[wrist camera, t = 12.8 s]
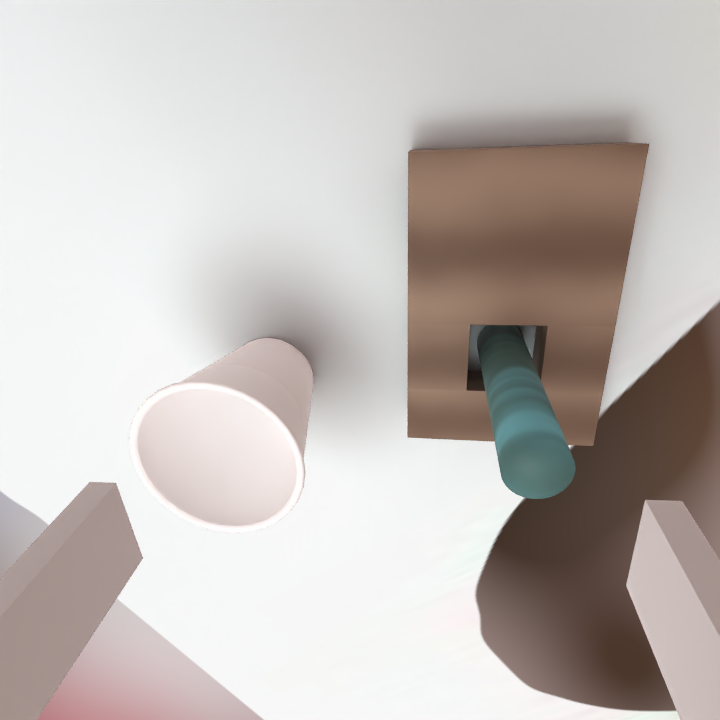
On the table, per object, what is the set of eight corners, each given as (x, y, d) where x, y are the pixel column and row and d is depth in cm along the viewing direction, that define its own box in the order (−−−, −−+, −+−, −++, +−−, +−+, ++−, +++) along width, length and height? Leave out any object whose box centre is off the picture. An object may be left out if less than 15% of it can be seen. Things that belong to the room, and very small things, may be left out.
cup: (362, 349, 35) (333, 434, 25) (310, 450, 40) (267, 558, 30) (233, 286, 35) (151, 350, 25) (194, 397, 39) (111, 488, 29)
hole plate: (411, 150, 29) (408, 152, 27) (628, 142, 28) (649, 143, 25) (409, 414, 37) (407, 437, 34) (581, 421, 35) (593, 445, 32)
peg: (478, 321, 33) (503, 438, 21) (525, 321, 33) (580, 441, 20) (475, 362, 34) (497, 496, 22) (520, 363, 34) (569, 500, 21)
